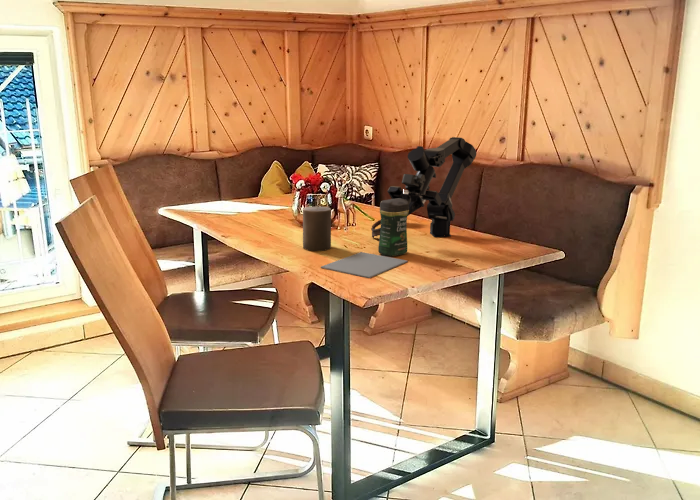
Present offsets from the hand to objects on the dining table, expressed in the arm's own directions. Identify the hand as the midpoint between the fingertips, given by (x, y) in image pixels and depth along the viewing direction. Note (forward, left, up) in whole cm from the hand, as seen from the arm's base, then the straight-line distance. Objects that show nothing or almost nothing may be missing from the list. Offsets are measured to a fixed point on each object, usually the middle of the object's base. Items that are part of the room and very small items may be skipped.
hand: (404, 216), depth 218 cm
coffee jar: (+5, +5, -12) cm, 14 cm away
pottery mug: (+2, -18, -12) cm, 22 cm away
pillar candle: (+29, -7, -12) cm, 32 cm away
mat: (+17, +16, -12) cm, 26 cm away
